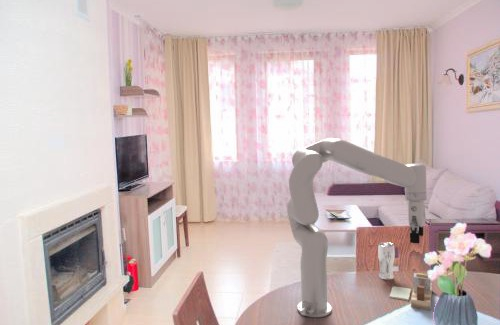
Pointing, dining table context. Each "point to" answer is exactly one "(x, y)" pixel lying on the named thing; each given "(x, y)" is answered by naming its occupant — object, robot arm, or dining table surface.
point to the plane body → (421, 298)
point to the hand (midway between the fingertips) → (416, 239)
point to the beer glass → (386, 260)
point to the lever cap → (422, 282)
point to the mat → (400, 293)
